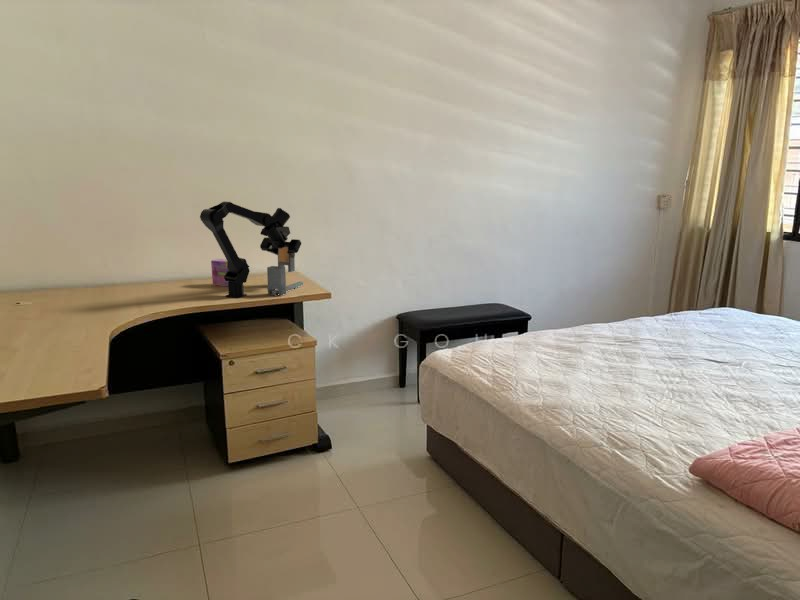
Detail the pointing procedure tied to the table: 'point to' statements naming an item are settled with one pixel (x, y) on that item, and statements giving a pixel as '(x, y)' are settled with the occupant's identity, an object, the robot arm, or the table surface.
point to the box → (219, 271)
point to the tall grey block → (276, 279)
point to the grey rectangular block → (285, 259)
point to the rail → (288, 287)
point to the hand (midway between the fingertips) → (287, 256)
